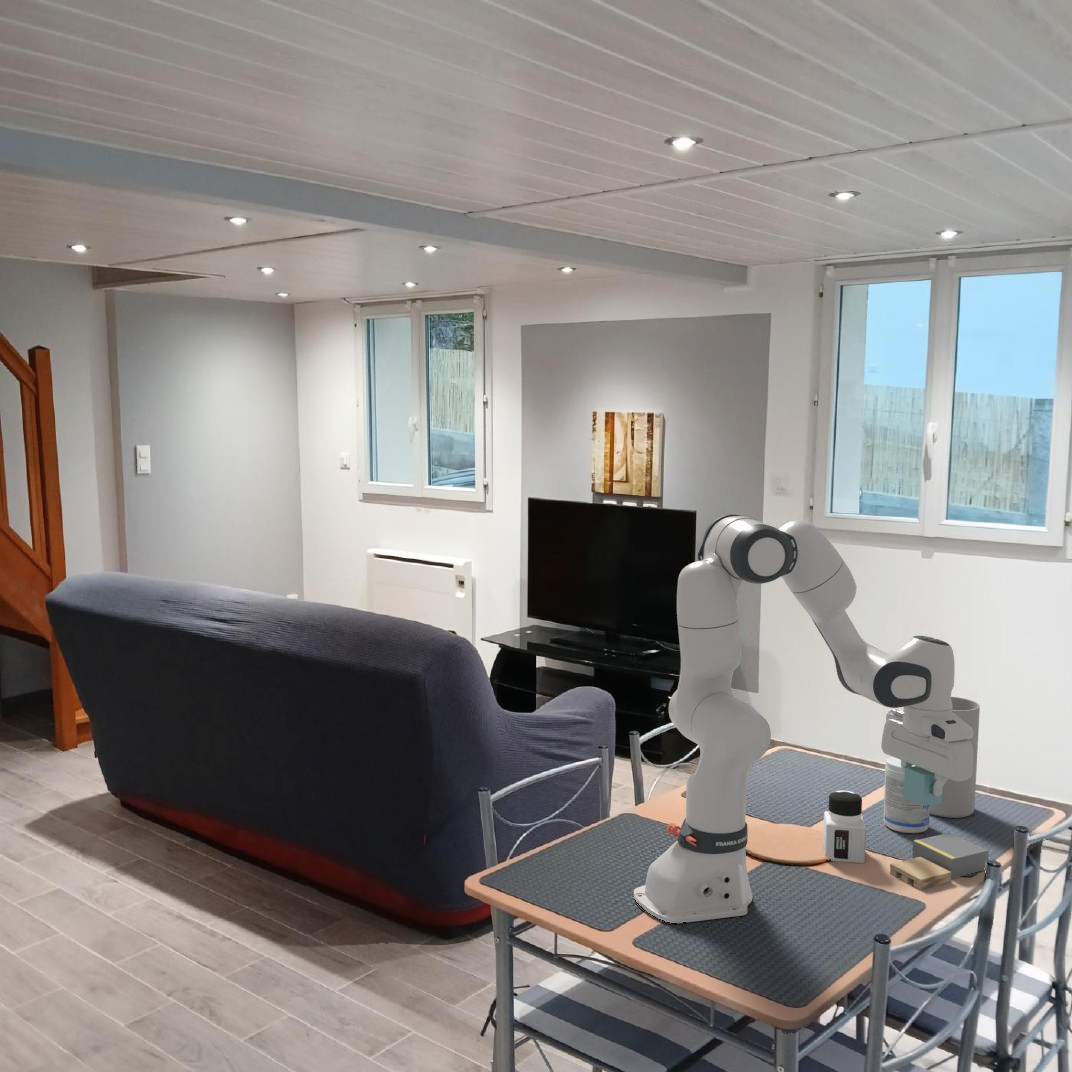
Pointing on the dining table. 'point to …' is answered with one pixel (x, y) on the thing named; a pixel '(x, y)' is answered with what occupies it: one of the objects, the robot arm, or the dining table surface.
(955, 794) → the cylinder vase
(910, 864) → the pallet
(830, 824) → the container
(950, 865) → the block
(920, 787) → the teal block
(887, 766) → the supplement tub
